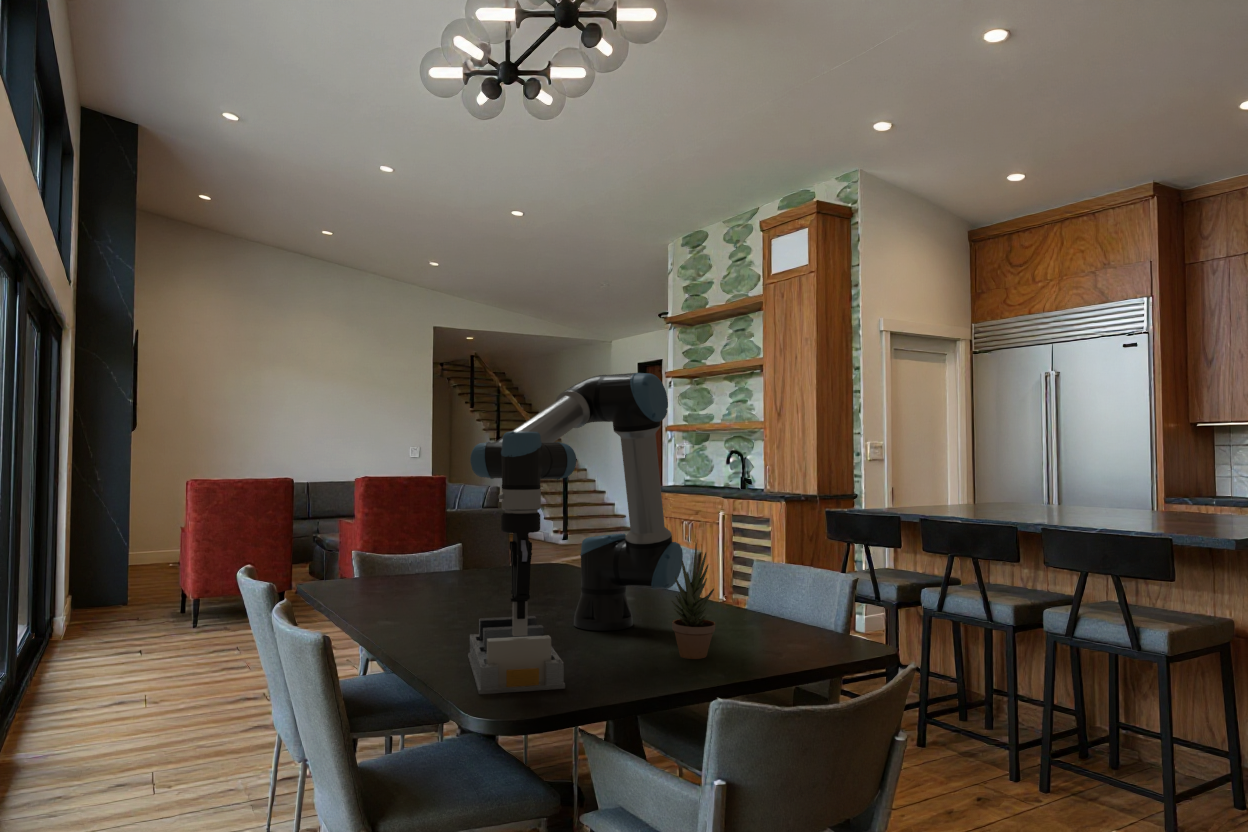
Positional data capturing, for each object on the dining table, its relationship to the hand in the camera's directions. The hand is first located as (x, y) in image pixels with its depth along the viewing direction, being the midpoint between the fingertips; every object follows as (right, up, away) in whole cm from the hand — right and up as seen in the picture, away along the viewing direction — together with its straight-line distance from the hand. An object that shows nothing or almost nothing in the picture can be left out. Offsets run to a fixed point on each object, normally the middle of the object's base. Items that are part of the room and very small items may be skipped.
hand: (519, 634), depth 159 cm
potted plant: (+35, -11, +23) cm, 43 cm away
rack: (-2, -10, +9) cm, 14 cm away
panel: (0, -9, 0) cm, 9 cm away
